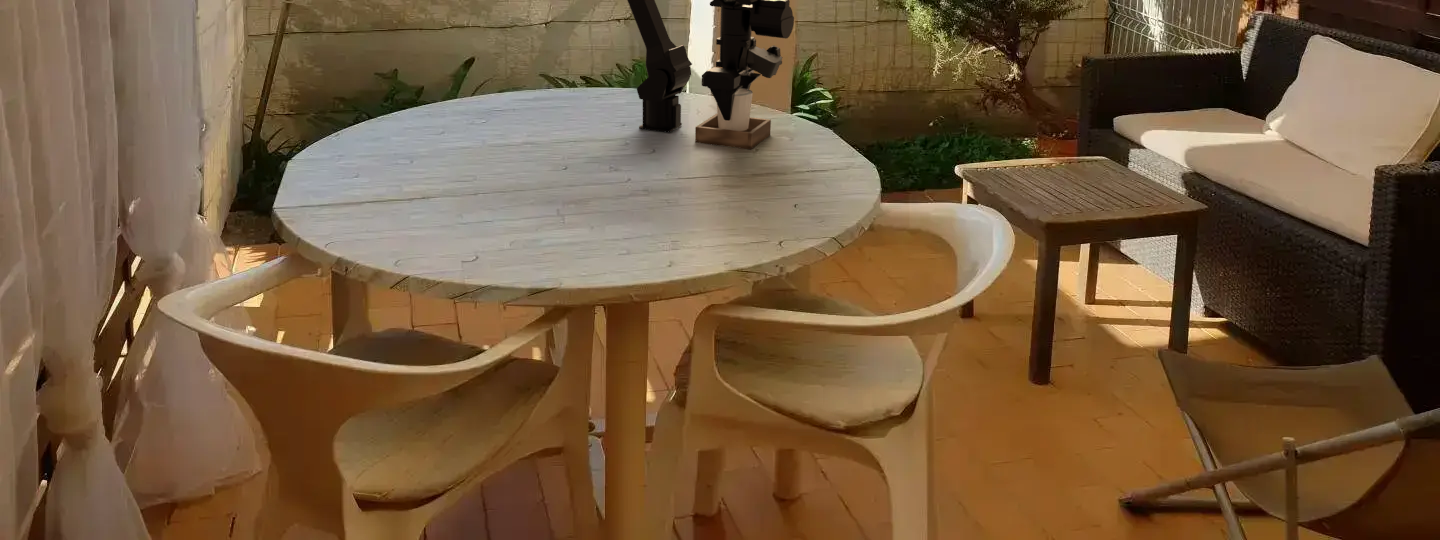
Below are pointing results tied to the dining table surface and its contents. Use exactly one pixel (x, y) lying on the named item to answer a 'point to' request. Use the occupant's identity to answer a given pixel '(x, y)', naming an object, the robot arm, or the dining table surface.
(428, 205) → the dining table surface
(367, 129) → the dining table surface
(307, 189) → the dining table surface
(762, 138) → the walnut crate
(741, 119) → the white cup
